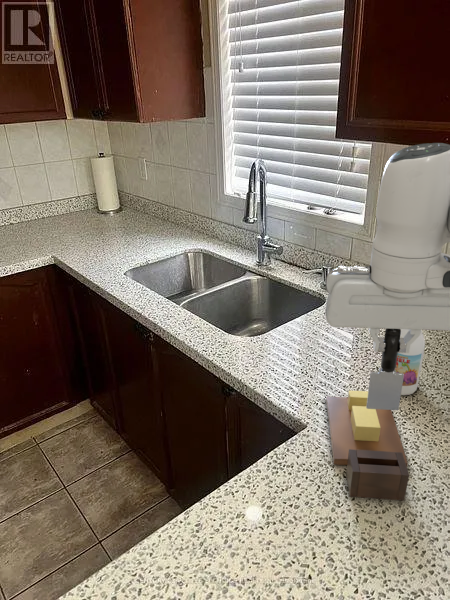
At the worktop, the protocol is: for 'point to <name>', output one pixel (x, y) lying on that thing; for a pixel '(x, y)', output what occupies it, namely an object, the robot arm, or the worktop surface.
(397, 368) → the milk bottle
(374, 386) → the knife
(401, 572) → the worktop surface
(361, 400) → the butter slice
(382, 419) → the board
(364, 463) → the knife block
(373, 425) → the butter block
